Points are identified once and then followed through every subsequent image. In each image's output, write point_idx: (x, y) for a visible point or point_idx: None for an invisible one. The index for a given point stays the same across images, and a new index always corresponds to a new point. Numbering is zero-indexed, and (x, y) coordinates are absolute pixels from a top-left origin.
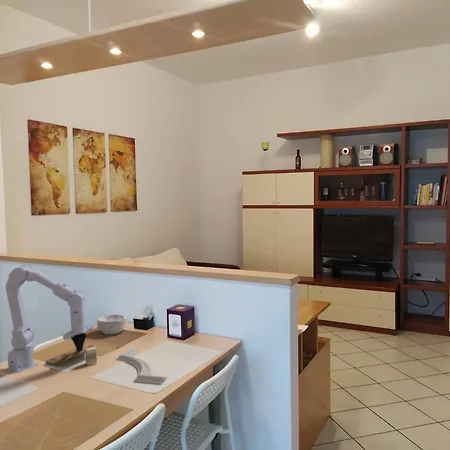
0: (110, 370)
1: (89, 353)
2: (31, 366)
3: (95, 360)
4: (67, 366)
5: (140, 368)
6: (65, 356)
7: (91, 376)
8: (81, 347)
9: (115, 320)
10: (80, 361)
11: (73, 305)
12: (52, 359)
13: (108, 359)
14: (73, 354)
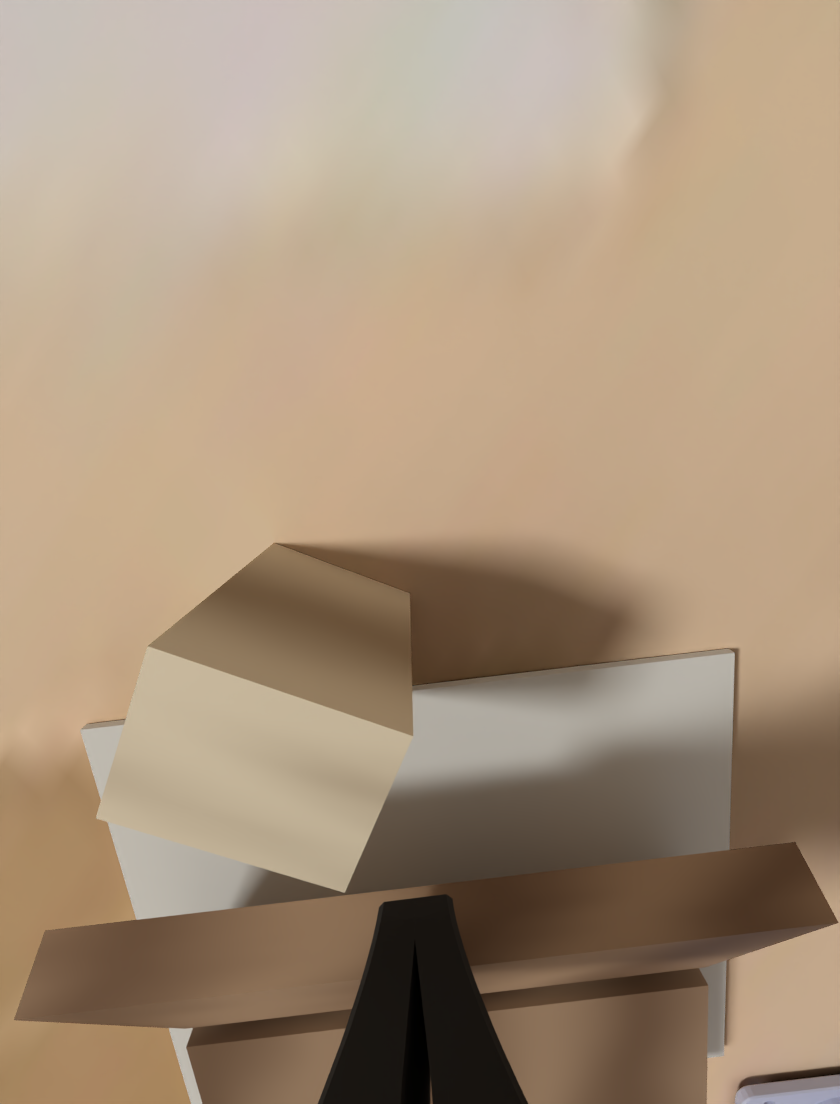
0: (276, 94)
1: (354, 666)
2: (829, 1093)
3: (276, 565)
4: (593, 793)
5: None
6: (779, 901)
7: (628, 170)
8: (410, 981)
9: None
10: None
11: None
12: (632, 1078)
13: (37, 561)
14: (578, 897)
